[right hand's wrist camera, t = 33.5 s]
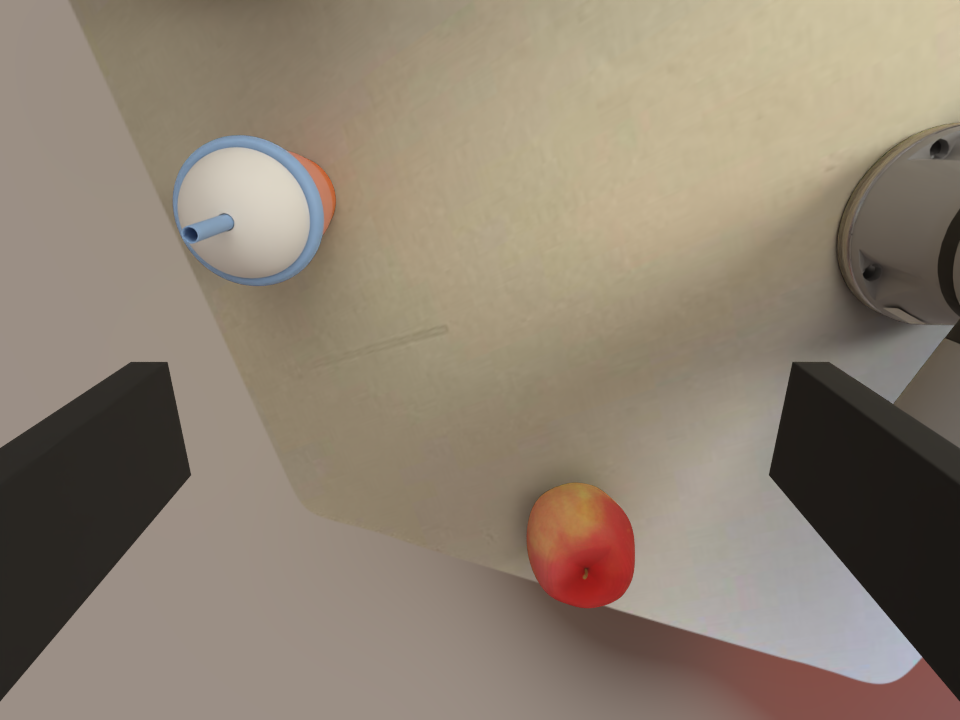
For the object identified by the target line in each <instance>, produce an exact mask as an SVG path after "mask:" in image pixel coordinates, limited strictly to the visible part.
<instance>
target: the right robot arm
mask: <svg viewBox="0 0 960 720" xmlns="http://www.w3.org/2000/svg"><path fill="white" fill-rule="evenodd" d="M837 252H838V261H839V266H840V270H841V273H842V276H843V278H844V280H845V282H846V284H847V286H848V288H849V289H850V290H851V292H852V293H853V294H854V295H855V296H856V297H857V299H858V300H860V301H861V302H862V303H863V304H864V305H866V306H868V307H869V308H871V309H873V310H875V311H877V312H879V313H881V314H883V315H885V316H887V317H890V318H892V319H895V320H898V321H901V322H905V323H910V324H922V325H955V326H954V327H953V328H952V329H951V331H950V332H949V333H948V335H947V336H946V337H945V338H944V339H943V340H942V342H941V343H940V344H939V346H938V347H937V348H936V349H935V351H934V352H933V353H932V355H931V356H930V357H929V359H928V360H927V361H926V362H925V364H924V365H923V366H922V368H921V369H920V370H919V371H918V373H917V374H916V375H915V377H914V378H913V379H912V381H911V382H910V383H909V384H908V386H907V387H906V388H905V390H904V391H903V392H902V393H901V395H900V396H899V397H898V399H897V400H896V401H895V403H894V404H892V403H890V402H889V401H887V400H886V399H884V398H883V397H881V396H880V395H878V394H877V393H875V392H874V391H872V390H871V389H869V388H868V387H866V386H865V385H863V384H862V383H860V382H859V381H857V380H855V379H854V378H852V377H851V376H849V375H848V374H846V373H845V372H843V371H842V370H840V369H839V368H837V367H836V366H834V365H833V364H831V363H830V362H792V367H791V372H790V377H789V382H788V386H787V391H786V396H785V401H784V405H783V410H782V415H781V420H780V425H779V429H778V434H777V439H776V444H775V449H774V453H773V458H772V463H771V468H770V473H769V476H770V477H771V478H772V479H773V480H774V482H775V483H776V484H777V485H778V486H779V488H780V489H781V490H782V491H783V492H784V493H785V495H786V496H787V497H788V498H789V499H790V501H791V502H792V503H793V504H794V505H795V507H796V508H797V509H798V510H799V511H800V512H801V514H802V515H803V516H804V517H805V518H806V520H807V521H808V522H809V523H810V524H811V525H812V527H813V528H814V529H815V530H816V531H817V533H818V534H819V535H820V536H821V537H822V539H823V540H824V541H825V542H826V543H827V544H828V546H829V547H830V548H831V549H832V550H833V552H834V553H835V554H836V555H837V556H838V557H839V559H840V560H841V561H842V562H843V563H844V565H845V566H846V567H847V568H848V569H849V571H850V572H851V573H852V574H853V575H854V576H855V578H856V579H857V580H858V581H859V582H860V584H861V585H862V586H863V587H864V588H865V589H866V591H867V592H868V593H869V594H870V595H871V597H872V598H873V599H874V600H875V601H876V603H877V604H878V605H879V606H880V607H881V608H882V610H883V611H884V612H885V613H886V614H887V616H888V617H889V618H890V619H891V620H892V622H893V623H894V624H895V625H896V626H897V627H898V629H899V630H900V631H901V632H902V633H903V635H904V636H905V637H906V638H907V639H908V640H909V642H910V643H911V644H912V645H913V646H914V648H915V649H916V650H917V651H918V652H919V654H920V655H921V656H922V657H923V658H924V659H925V661H926V662H927V663H928V664H929V665H930V666H931V668H932V669H933V670H934V671H935V672H936V674H937V675H938V676H939V677H940V678H941V680H942V681H943V682H944V683H945V684H946V686H947V687H948V688H949V689H950V690H951V691H952V693H953V694H954V695H955V696H956V697H957V699H958V700H959V701H960V123H952V124H946V125H941V126H937V127H933V128H930V129H928V130H925V131H922V132H920V133H918V134H916V135H913V136H911V137H910V138H908V139H906V140H904V141H903V142H901V143H900V144H898V145H897V146H895V147H894V148H892V149H891V150H890V151H888V152H887V153H886V154H885V155H884V156H882V157H881V158H880V159H879V160H878V161H877V162H876V163H875V164H874V165H873V166H872V167H871V168H870V169H869V171H868V172H867V173H866V174H865V176H864V177H863V178H862V179H861V181H860V182H859V184H858V185H857V187H856V188H855V190H854V192H853V193H852V195H851V197H850V199H849V201H848V203H847V205H846V208H845V210H844V213H843V216H842V219H841V223H840V227H839V233H838V242H837ZM190 476H191V473H190V468H189V463H188V458H187V453H186V449H185V444H184V439H183V434H182V430H181V425H180V420H179V415H178V410H177V405H176V401H175V396H174V391H173V386H172V382H171V377H170V372H169V367H168V363H167V362H130V363H129V364H127V365H126V366H124V367H123V368H121V369H120V370H118V371H117V372H115V373H114V374H112V375H111V376H109V377H108V378H106V379H105V380H103V381H101V382H100V383H98V384H97V385H95V386H94V387H92V388H91V389H89V390H88V391H86V392H85V393H83V394H82V395H80V396H79V397H77V398H76V399H74V400H73V401H71V402H70V403H68V404H67V405H65V406H63V407H62V408H60V409H59V410H57V411H56V412H54V413H53V414H51V415H50V416H48V417H47V418H45V419H44V420H42V421H41V422H39V423H38V424H36V425H35V426H33V427H32V428H30V429H29V430H27V431H26V432H24V433H23V434H21V435H20V436H18V437H16V438H15V439H13V440H12V441H10V442H9V443H7V444H6V445H4V446H3V447H1V448H0V701H1V700H2V699H3V697H4V696H5V695H6V694H7V693H8V691H9V690H10V689H11V688H12V687H13V685H14V684H15V683H16V682H17V681H18V680H19V678H20V677H21V676H22V675H23V674H24V672H25V671H26V670H27V669H28V668H29V667H30V665H31V664H32V663H33V662H34V661H35V659H36V658H37V657H38V656H39V655H40V654H41V652H42V651H43V650H44V649H45V647H46V646H47V645H48V644H49V643H50V642H51V640H52V639H53V638H54V637H55V636H56V635H57V633H58V632H59V631H60V630H61V629H62V627H63V626H64V625H65V624H66V623H67V622H68V620H69V619H70V618H71V617H72V615H73V614H74V613H75V612H76V611H77V610H78V608H79V607H80V606H81V605H82V604H83V603H84V601H85V600H86V599H87V598H88V597H89V595H90V594H91V593H92V592H93V591H94V589H95V588H96V587H97V586H98V585H99V584H100V582H101V581H102V580H103V579H104V578H105V576H106V575H107V574H108V573H109V572H110V571H111V569H112V568H113V567H114V566H115V565H116V563H117V562H118V561H119V560H120V559H121V557H122V556H123V555H124V554H125V553H126V551H127V550H128V549H129V548H130V547H131V546H132V544H133V543H134V542H135V541H136V540H137V538H138V537H139V536H140V535H141V534H142V533H143V531H144V530H145V529H146V528H147V527H148V525H149V524H150V523H151V522H152V521H153V520H154V518H155V517H156V516H157V515H158V514H159V512H160V511H161V510H162V509H163V508H164V506H165V505H166V504H167V503H168V502H169V501H170V499H171V498H172V497H173V496H174V495H175V493H176V492H177V491H178V490H179V489H180V487H181V486H182V485H183V484H184V483H185V482H186V480H187V479H188V478H189V477H190Z"/></svg>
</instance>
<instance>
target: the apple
mask: <svg viewBox="0 0 960 720" xmlns="http://www.w3.org/2000/svg"><path fill="white" fill-rule="evenodd" d="M527 550H528V556H529V560H530V564H531V567H532V570H533V572H534V574H535V577H536V579H537V580H538V582H539V584H540V585H541V587H542V588H543V589H544V590H545V592H546V593H547V594H549V595H550V596H551V597H553V598H554V599H556V600H558V601H560V602H563V603H566V604H569V605H572V606H576V607H580V608H595V607H600V606H604V605H607V604H610V603H612V602H614V601H616V600H617V599H619V598H620V597H621V596H622V595H623V594H624V593H625V592H626V590H627V589H628V587H629V585H630V583H631V581H632V578H633V573H634V565H635V544H634V535H633V530H632V527H631V524H630V521H629V519H628V517H627V515H626V514H625V512H624V511H623V510H622V509H621V508H620V506H619V505H618V504H617V503H616V502H615V501H614V500H613V499H612V498H611V497H609V496H608V495H607V494H606V493H605V492H603V491H602V490H600V489H599V488H597V487H595V486H592V485H588V484H583V483H568V484H564V485H560V486H558V487H555V488H553V489H551V490H549V491H547V492H546V493H544V494H543V495H542V496H540V497H539V499H538V500H537V501H536V503H535V504H534V506H533V508H532V510H531V513H530V517H529V521H528V526H527Z"/></svg>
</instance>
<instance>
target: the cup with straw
mask: <svg viewBox="0 0 960 720" xmlns="http://www.w3.org/2000/svg"><path fill="white" fill-rule="evenodd" d="M335 204H336V198H335V192H334V188H333V185H332V183H331V181H330V179H329V177H328V176H327V174H326V173H325V172H324V171H323V169H322V168H320V167H319V166H318V165H317V164H316V163H314V162H312V161H311V160H309V159H306V158H304V157H302V156H300V155H298V154H296V153H293V152H289V151H286V150H285V149H283V148H281V147H280V146H278V145H276V144H274V143H272V142H270V141H267V140H264V139H261V138H257V137H252V136H245V135H233V136H226V137H221V138H217V139H215V140H212V141H210V142H208V143H206V144H204V145H202V146H201V147H200V148H198V149H197V150H196V151H195V152H193V153H192V154H191V155H190V156H189V158H188V159H187V160H186V161H185V163H184V164H183V166H182V167H181V169H180V171H179V173H178V176H177V179H176V182H175V186H174V191H173V211H174V217H175V221H176V224H177V227H178V230H179V232H180V235H181V237H182V239H183V241H184V242H185V244H186V246H187V247H188V249H189V250H190V251H191V253H192V254H193V255H194V256H195V257H196V258H197V259H198V260H199V261H200V262H201V263H202V264H203V265H204V266H205V267H206V268H208V269H209V270H211V271H212V272H213V273H215V274H217V275H219V276H220V277H222V278H225V279H227V280H229V281H232V282H235V283H239V284H243V285H249V286H266V285H272V284H277V283H280V282H283V281H285V280H288V279H290V278H292V277H293V276H295V275H296V274H298V273H299V272H300V271H302V270H303V269H304V268H305V267H306V266H307V265H308V264H309V262H310V261H311V260H312V258H313V257H314V255H315V254H316V252H317V250H318V248H319V245H320V243H321V239H322V235H323V234H324V233H325V231H326V230H327V228H328V226H329V223H330V220H331V219H332V216H333V214H334V211H335Z"/></svg>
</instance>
